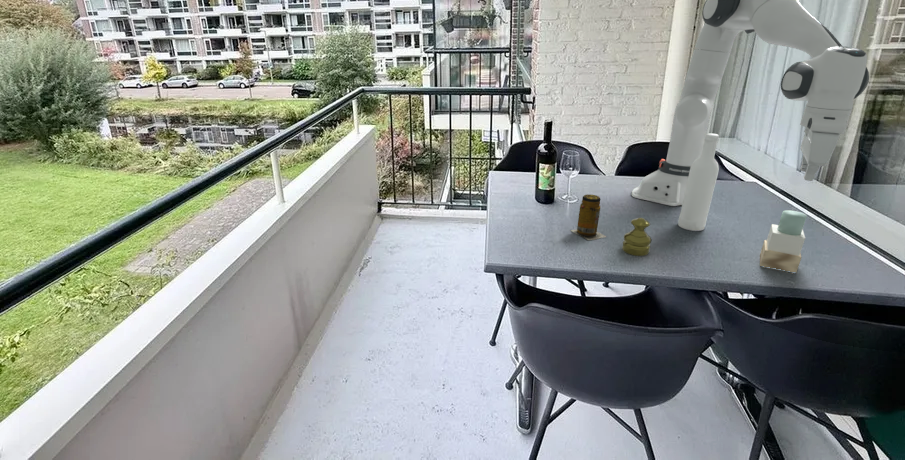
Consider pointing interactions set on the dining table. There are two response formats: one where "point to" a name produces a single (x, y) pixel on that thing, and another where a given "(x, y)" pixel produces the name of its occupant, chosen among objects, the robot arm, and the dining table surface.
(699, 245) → the dining table surface
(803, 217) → the pale green rounded block
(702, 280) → the dining table surface
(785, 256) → the tower base
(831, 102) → the robot arm
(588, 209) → the condiment
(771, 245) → the tower top
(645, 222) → the yellow tiered cone
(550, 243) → the dining table surface
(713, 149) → the bottle
